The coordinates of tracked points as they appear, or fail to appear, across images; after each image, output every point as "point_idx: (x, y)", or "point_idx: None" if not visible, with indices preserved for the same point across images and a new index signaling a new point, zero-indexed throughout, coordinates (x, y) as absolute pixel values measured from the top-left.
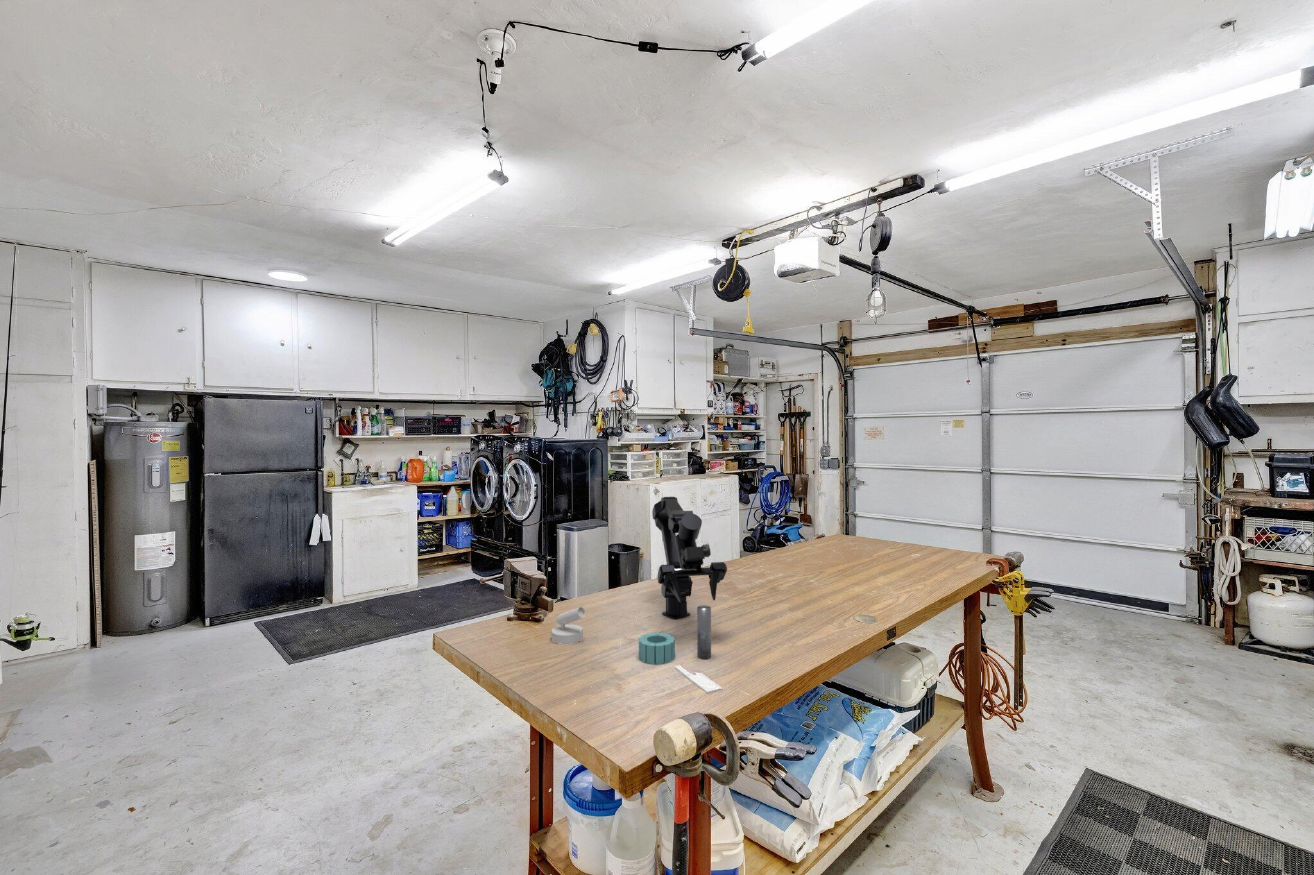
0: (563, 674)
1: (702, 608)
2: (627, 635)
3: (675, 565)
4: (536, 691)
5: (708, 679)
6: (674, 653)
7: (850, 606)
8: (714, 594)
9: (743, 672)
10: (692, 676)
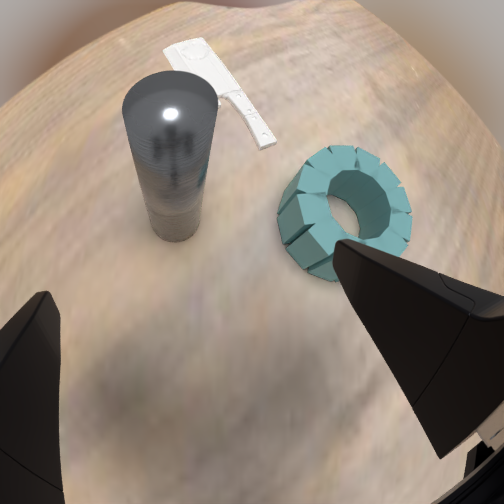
0: (470, 160)
1: (184, 87)
2: None
3: None
4: (468, 115)
5: None
6: (282, 205)
7: None
8: (29, 308)
9: (87, 115)
10: (228, 86)
